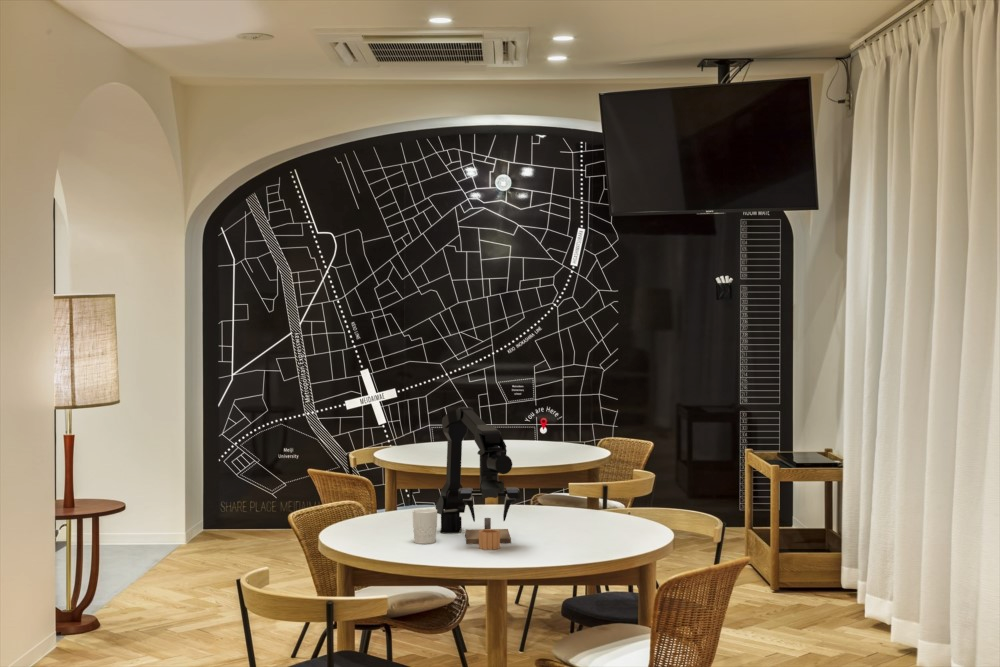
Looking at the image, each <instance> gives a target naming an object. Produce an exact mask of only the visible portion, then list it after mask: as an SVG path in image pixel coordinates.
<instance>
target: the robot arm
mask: <svg viewBox="0 0 1000 667" xmlns="http://www.w3.org/2000/svg"><path fill="white" fill-rule="evenodd" d="M441 426H442V432H443V434H444V435H445V437H446V439H447V445H446V446H447V449H446V450H447V452H446V471H445V472H446V474H445V475H446V478H445V479H446V480H445V483H444V485H443V486H442V488H441V490H440V496H439V498H438V500H437V502H436V505H435V509H436V510H437V515H440V533H441V534H448V533H449V534H452V533H454V534H455V533H456V534H457V533H459V534H460V533H461V531H462V528H463V527H462V516H460V514H461V513H462V514H463V513H465V511H466V505H467V506H468V509H469V512H470V515H471V519H472V521H473V522H474V523H475V522H476V516H475V508H474V502H473V501H474V500H473V497H482V498H483V499H488V498H493V499H497V498H498V497H504V505H503V513H502V515H503V518H502V521H503V522H505V521H506V519H507V516H508V511H509V509H510V507H511V504H512V503H514V502H516V501H517V499H520V498H521V491H520V489H519V488H518V486H506V487H505V481H504V480H499V474H500V475H506V474H508V473H510V472H511V471H512V468H513V460H512V459H511V457H510V456H508V455H507V452H508V450H507V445H506V443H505V440H504V438H503V434H502V433H501V431H500V430H499V429H497V428H496V427H494V426H491V425H487V423H485V422H484V420H482V418H481V417H480V416H478V414H477V412H475V410H474V408H473V407H470V406H466V407H458V408H457V409H455V410H453V411H451V412H449V413H446V414H444V416H443V417H442V419H441ZM468 431H470V432H471V433H472V434H473V435H474V443H475V444H476V446H477V447H478V449H479V450H478V452H477V455H478V456H479V489H478V490H477V489H474V490H473V489H472V487H463V486H462V483H461V482H462V480H461V479H462V456H463V455H462V454H463V453H462V450H463V440H464V438H466V435H467V434H468ZM505 488H506V489H505Z"/></svg>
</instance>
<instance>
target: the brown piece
mask: <svg viewBox="0 0 1000 667" xmlns="http://www.w3.org/2000/svg"><path fill="white" fill-rule="evenodd" d="M491 520H492V518H491V517H485V518H484V520H483V521H484V522H483V523H484V524H483V525H484V527H483V529H482V528H481V529H480V528H479V529H476V528H475V529H473V528H472V529H465V544H466V545H471V544H472V545H473V544H475V545H476V544H478V545H479V531H480V530H484V529H492V528H491V526H492V522H491ZM494 529H495V530H499V531H500V544H512V538H511V535H510V531H509V529H508V528H494Z"/></svg>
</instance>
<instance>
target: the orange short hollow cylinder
mask: <svg viewBox="0 0 1000 667" xmlns="http://www.w3.org/2000/svg"><path fill="white" fill-rule="evenodd" d="M483 529H484V530H480V531H479V544H478V548H479V549H480V550H486V551H487V550H490V549H492V550H499V549H500V548H501V543H500V531H499V530H495V529H496V528H491V529H485V528H483Z"/></svg>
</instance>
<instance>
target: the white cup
mask: <svg viewBox="0 0 1000 667" xmlns="http://www.w3.org/2000/svg"><path fill="white" fill-rule="evenodd" d="M412 528H413V541H414V543H415V544H419V545H432V544H434V543H436V541H437V528H438V513H437V510H436V508H416V509H412Z"/></svg>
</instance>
